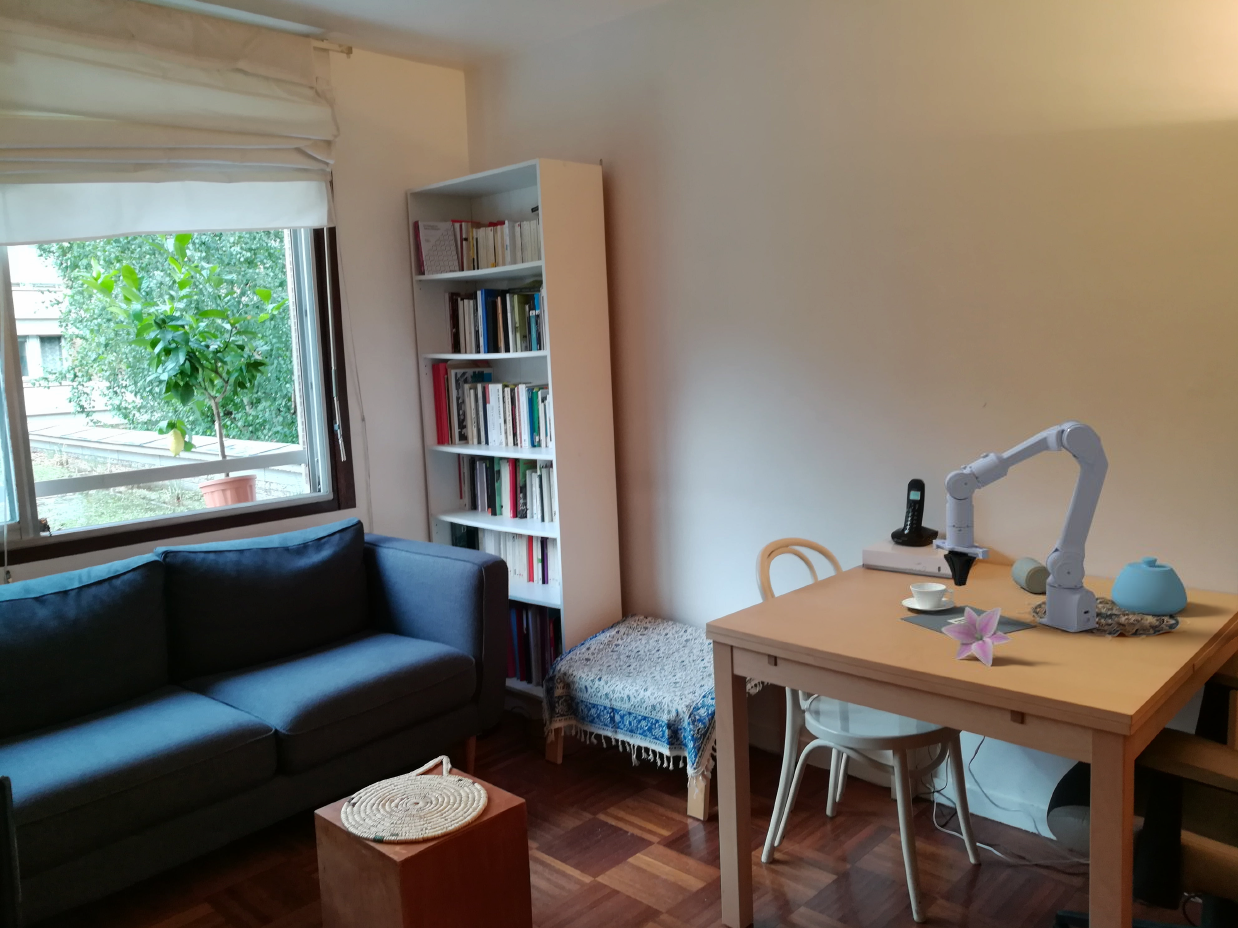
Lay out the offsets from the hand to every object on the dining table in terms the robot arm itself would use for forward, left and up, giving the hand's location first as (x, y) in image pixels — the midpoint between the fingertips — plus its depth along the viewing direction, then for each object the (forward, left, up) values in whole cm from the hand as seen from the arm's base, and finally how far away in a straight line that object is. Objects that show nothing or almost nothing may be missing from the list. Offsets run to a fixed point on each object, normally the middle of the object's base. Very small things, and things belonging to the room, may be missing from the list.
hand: (960, 585), depth 204 cm
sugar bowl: (-15, -42, -8) cm, 45 cm away
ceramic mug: (+9, -35, -8) cm, 37 cm away
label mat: (-2, 0, -8) cm, 8 cm away
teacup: (+11, -1, -8) cm, 14 cm away
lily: (-20, +16, -8) cm, 27 cm away
